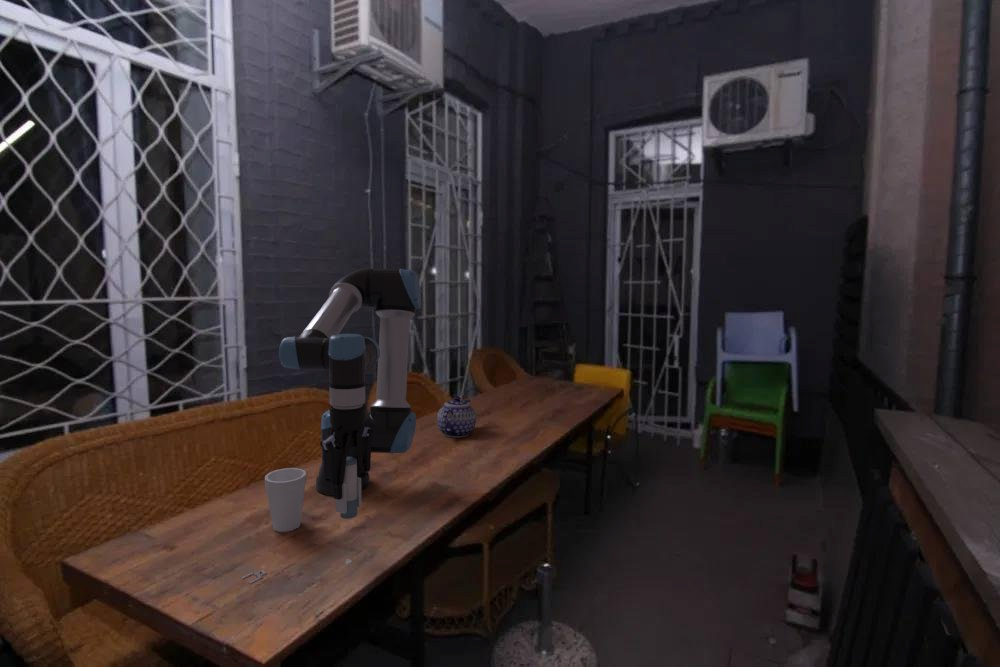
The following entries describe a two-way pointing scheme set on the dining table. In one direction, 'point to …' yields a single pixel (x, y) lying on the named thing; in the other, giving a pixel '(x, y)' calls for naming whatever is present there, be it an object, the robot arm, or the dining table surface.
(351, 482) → the cylinder
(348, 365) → the robot arm
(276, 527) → the foam cup
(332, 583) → the dining table surface
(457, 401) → the blue ceramic jar
